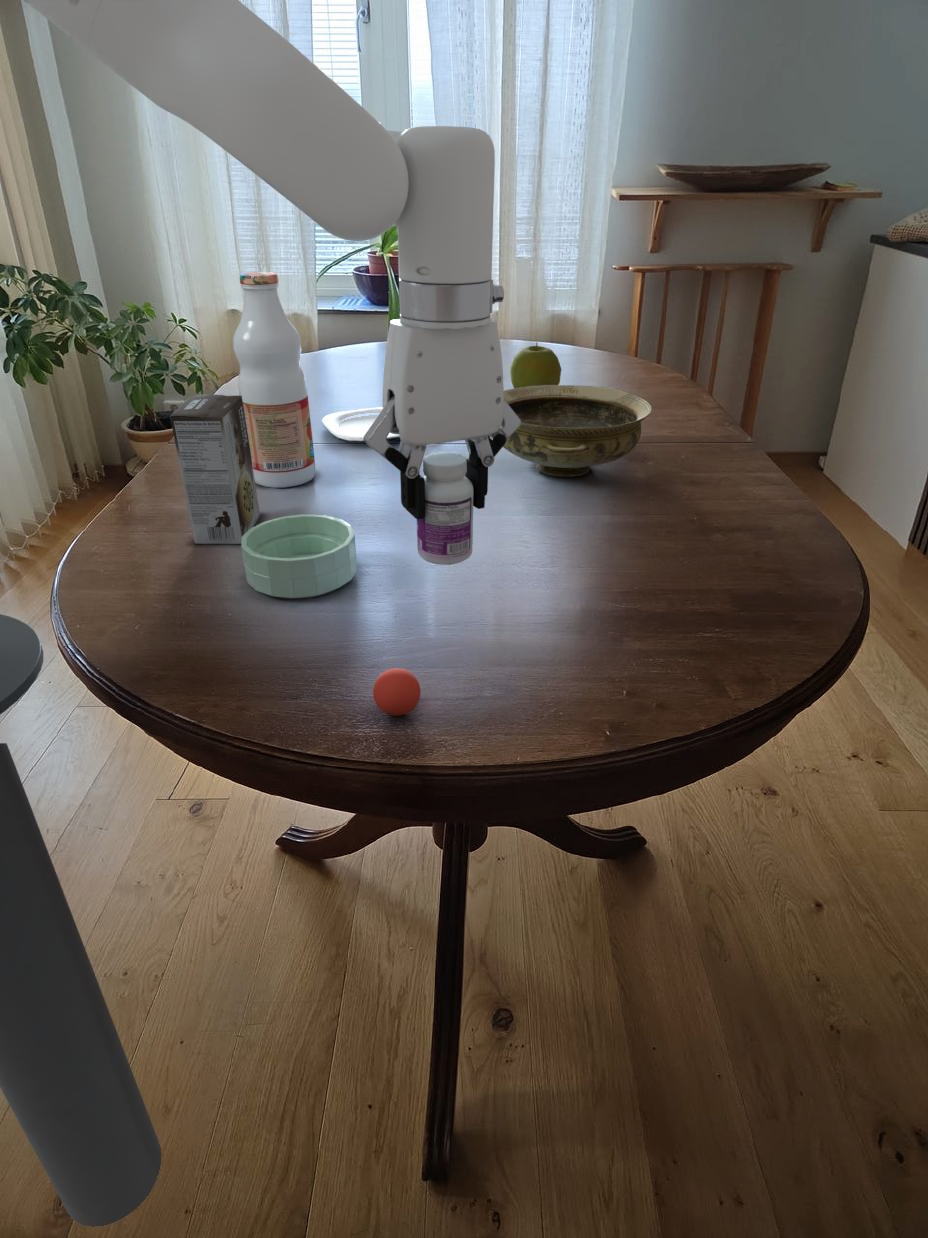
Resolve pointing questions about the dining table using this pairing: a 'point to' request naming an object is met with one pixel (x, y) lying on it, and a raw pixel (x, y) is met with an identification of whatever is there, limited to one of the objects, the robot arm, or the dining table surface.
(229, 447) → the grey cardboard box
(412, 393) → the robot arm
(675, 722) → the dining table surface
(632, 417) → the ceramic bowl
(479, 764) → the dining table surface
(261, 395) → the fruit juice
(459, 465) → the pill bottle
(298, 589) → the celadon bowl
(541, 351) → the apple
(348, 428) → the plate
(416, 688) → the rubber ball
